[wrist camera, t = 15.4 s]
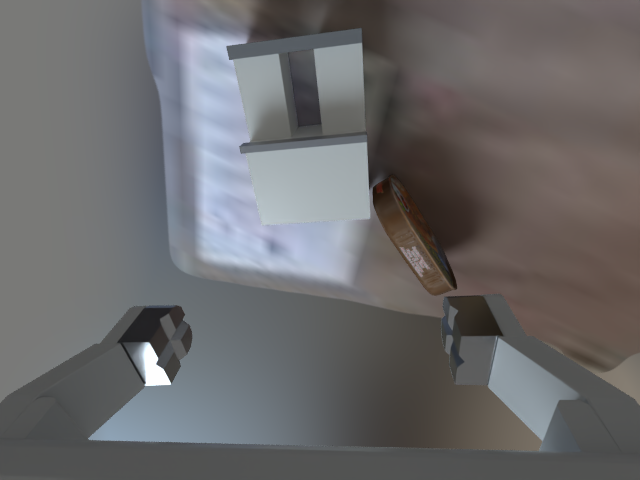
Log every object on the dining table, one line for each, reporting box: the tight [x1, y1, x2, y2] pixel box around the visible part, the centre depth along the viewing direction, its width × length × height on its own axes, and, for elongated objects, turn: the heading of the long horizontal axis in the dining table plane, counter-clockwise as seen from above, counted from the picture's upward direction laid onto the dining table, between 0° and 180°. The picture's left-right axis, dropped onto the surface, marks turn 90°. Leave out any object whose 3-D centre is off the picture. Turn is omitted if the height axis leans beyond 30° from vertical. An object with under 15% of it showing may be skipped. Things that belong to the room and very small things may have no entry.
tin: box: [373, 175, 457, 296], centre depth 37 cm, size 15×3×8 cm, turn 36°
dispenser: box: [226, 28, 370, 225], centre depth 32 cm, size 11×16×8 cm
